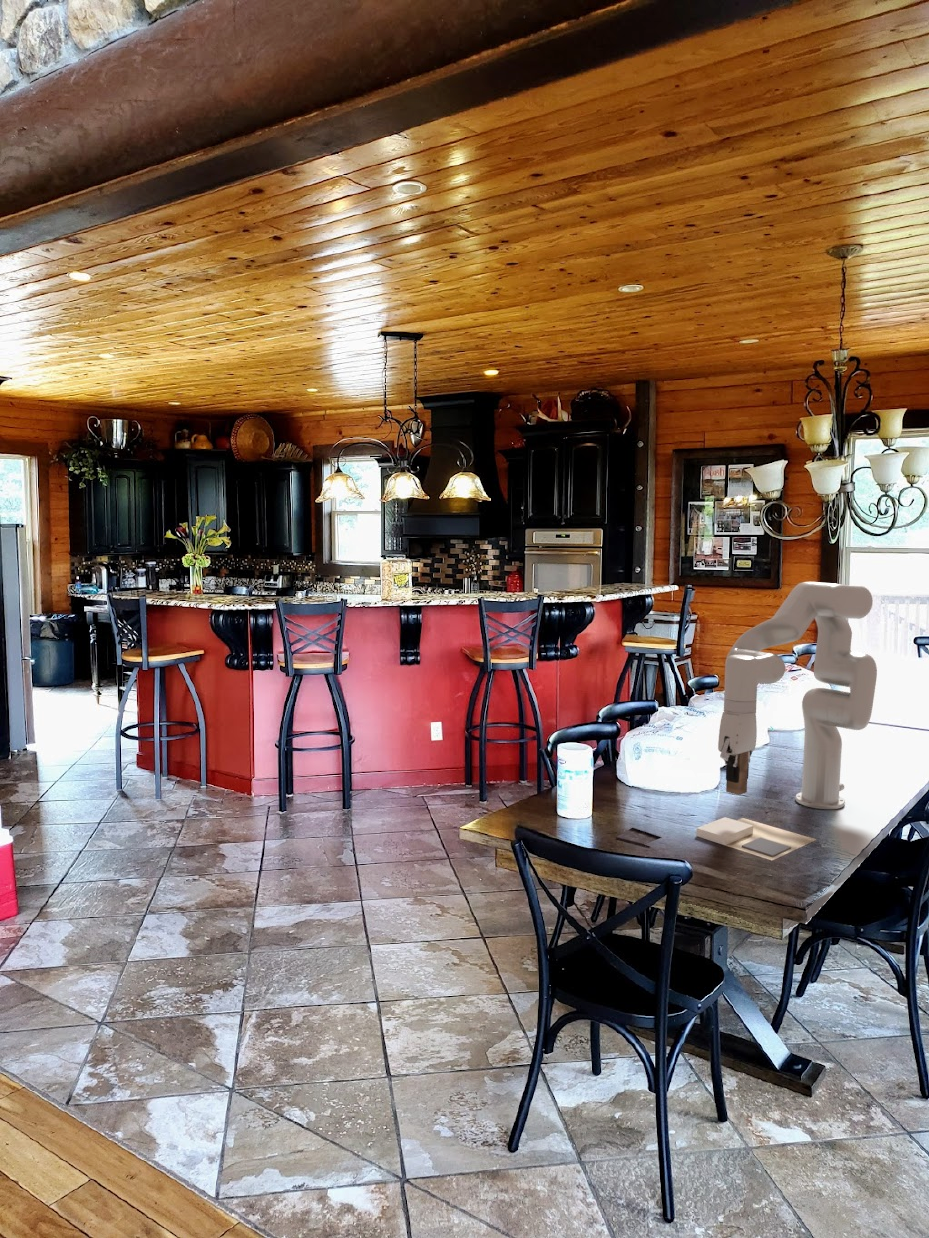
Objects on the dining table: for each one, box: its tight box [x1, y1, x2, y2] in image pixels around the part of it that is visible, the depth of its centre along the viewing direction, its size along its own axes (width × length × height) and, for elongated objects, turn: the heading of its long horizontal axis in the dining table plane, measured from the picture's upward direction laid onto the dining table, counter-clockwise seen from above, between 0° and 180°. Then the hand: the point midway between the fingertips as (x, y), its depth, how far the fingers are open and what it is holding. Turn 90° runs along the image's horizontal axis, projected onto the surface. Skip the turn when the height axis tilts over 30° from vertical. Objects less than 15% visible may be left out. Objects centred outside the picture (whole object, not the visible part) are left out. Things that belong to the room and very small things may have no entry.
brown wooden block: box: [725, 750, 749, 796], centre depth 222 cm, size 4×4×12 cm
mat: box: [742, 837, 791, 857], centre depth 213 cm, size 8×8×1 cm
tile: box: [695, 816, 753, 846], centre depth 221 cm, size 2×8×12 cm
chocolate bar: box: [615, 827, 663, 848], centre depth 226 cm, size 9×1×18 cm
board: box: [724, 817, 817, 861], centre depth 219 cm, size 20×20×1 cm
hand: (737, 779), depth 222 cm, fingers closed on brown wooden block, 3 cm apart
